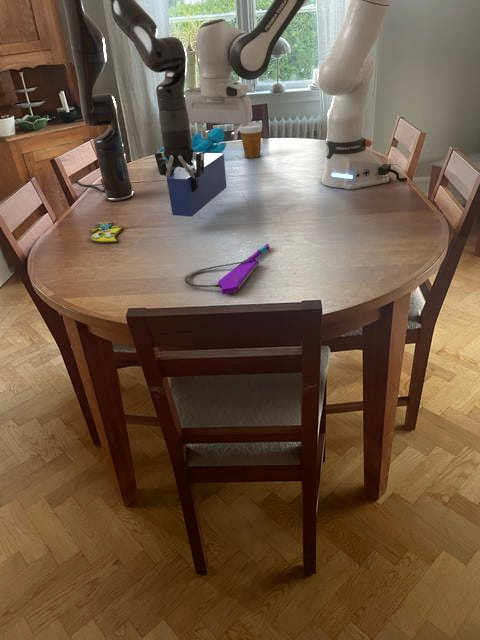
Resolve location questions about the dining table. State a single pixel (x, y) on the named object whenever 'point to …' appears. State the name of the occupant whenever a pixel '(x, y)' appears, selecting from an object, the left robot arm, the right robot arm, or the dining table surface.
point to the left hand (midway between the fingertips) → (184, 190)
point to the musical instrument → (234, 273)
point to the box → (209, 186)
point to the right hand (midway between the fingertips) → (219, 138)
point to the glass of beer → (251, 139)
